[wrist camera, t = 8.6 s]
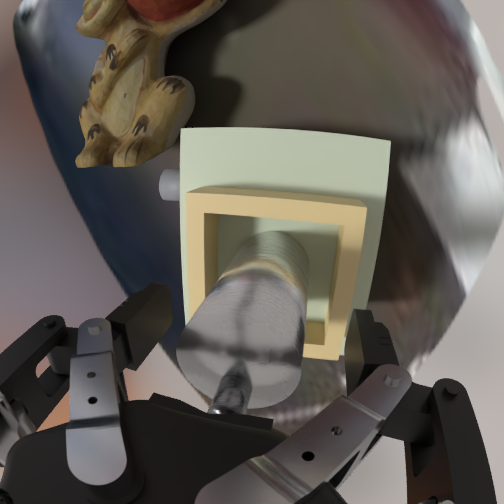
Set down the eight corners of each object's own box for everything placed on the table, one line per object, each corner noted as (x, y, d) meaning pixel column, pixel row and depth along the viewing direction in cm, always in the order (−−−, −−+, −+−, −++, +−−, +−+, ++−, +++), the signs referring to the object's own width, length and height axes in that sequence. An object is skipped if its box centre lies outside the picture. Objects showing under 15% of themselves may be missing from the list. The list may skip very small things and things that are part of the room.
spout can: (237, 227, 18) (146, 329, 8) (313, 235, 17) (307, 357, 7) (236, 294, 19) (167, 423, 9) (305, 302, 18) (287, 448, 9)
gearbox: (188, 134, 24) (115, 130, 15) (366, 144, 22) (403, 139, 12) (189, 284, 29) (135, 345, 19) (345, 304, 26) (355, 382, 17)
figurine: (47, 176, 20) (60, -29, 12) (106, 160, 28) (110, -5, 20) (218, 162, 17) (220, -85, 10) (244, 152, 26) (243, -36, 18)
